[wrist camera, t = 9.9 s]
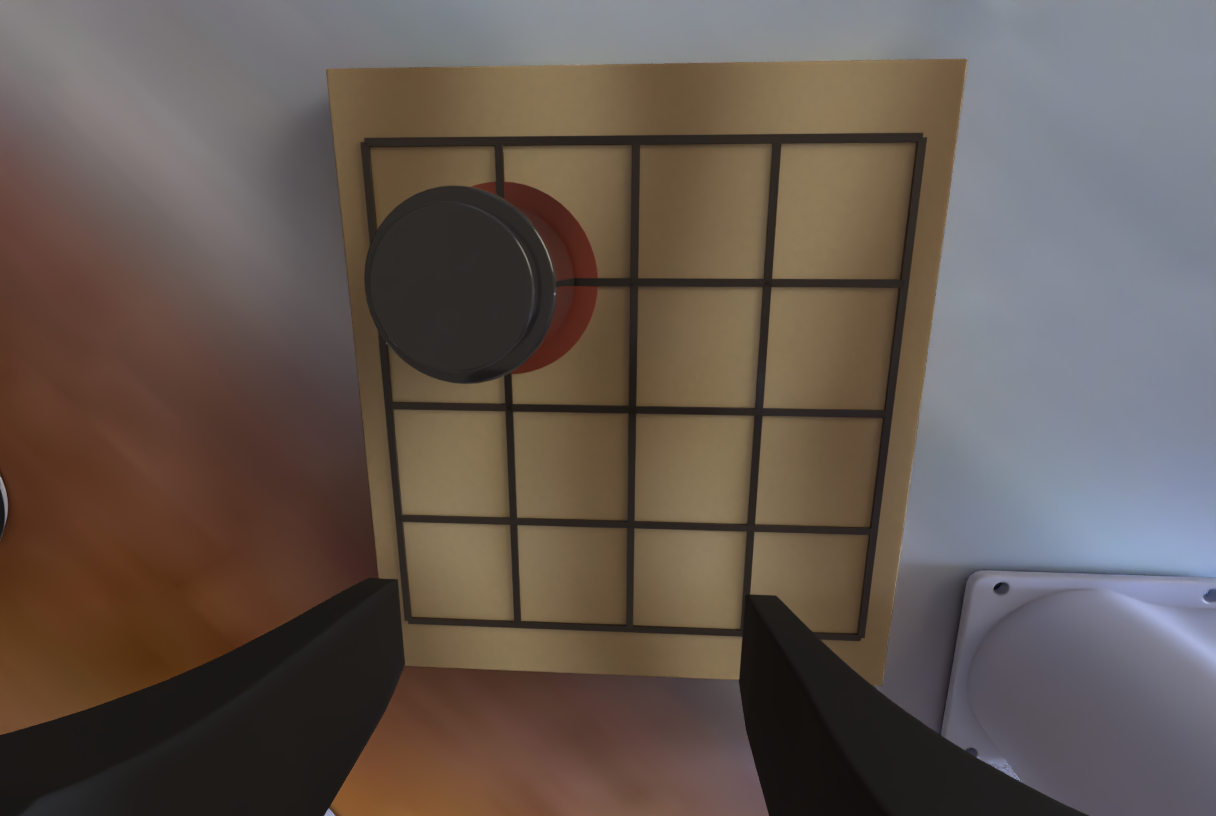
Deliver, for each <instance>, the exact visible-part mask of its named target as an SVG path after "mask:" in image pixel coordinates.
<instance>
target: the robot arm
mask: <svg viewBox="0 0 1216 816" xmlns="http://www.w3.org/2000/svg"><path fill="white" fill-rule="evenodd" d="M999 582H1002V585H1001V587H999V588H998V589H993V588H994V586H995V585H996V584H997V583H999ZM1208 590H1209V591H1208ZM1206 591H1208V593H1207V594H1205V592H1206ZM1204 594H1205V595H1204ZM404 666H405V657H404V645H403V633H402V622H401V610H400V598H399V587H398V579H381V578H369V579H366V580H364V581H362V582H360V583H358V584H356V585H354V586H352V587H350V588H348V589H346V590H344V591H342V592H340V593H339V594H337V595H335V596H333V597H331V598H330V599H328V600H326V601H324V602H323V603H321V604H319V605H317V606H315V607H314V608H312V609H310V610H308V611H306V612H305V613H303V614H301V615H299V616H297V617H296V618H294V619H292V620H290V621H289V622H287V623H285V624H283V625H281V626H279V627H277V628H276V629H274V630H272V631H270V632H268V633H266V634H264V635H262V636H260V637H258V638H256V639H254V640H252V641H250V642H248V643H246V644H244V645H243V646H241V647H239V648H237V649H235V650H233V651H231V652H229V653H227V654H225V655H223V656H220V657H218V658H216V659H214V660H212V661H210V662H207V663H205V664H203V665H201V666H199V667H196V668H194V669H192V670H189V671H187V672H185V673H182V674H180V675H178V676H175V677H173V678H171V679H168V680H166V681H163V682H161V683H158V684H156V685H153V686H150V687H147V688H145V689H142V690H139V691H137V692H134V693H131V694H128V695H126V696H123V697H120V698H117V699H115V700H112V701H109V702H106V703H104V704H101V705H98V706H96V707H93V708H90V709H87V710H84V711H81V712H77V713H74V714H71V715H68V716H65V717H62V718H58V719H55V720H52V721H49V722H45V723H42V724H38V725H35V726H32V727H28V728H25V729H21V730H18V731H14V732H11V733H7V734H3V735H0V816H324V815H325V813H326V812H327V810H328V808H329V807H330V805H331V803H332V802H333V800H334V798H335V796H336V795H337V793H338V791H339V790H340V788H341V786H342V785H343V783H344V781H345V779H346V778H347V776H348V774H349V773H350V771H351V769H352V768H353V766H354V764H355V763H356V761H357V759H358V757H359V756H360V754H361V752H362V751H363V749H364V747H365V746H366V744H367V742H368V740H369V739H370V737H371V735H372V733H373V732H374V730H375V728H376V726H377V725H378V723H379V721H380V719H381V718H382V716H383V714H384V712H385V711H386V708H387V706H388V704H389V702H390V699H391V697H392V695H393V693H394V690H395V688H396V685H397V683H398V680H399V678H400V675H401V673H402V671H403V668H404ZM739 685H740V692H741V699H742V706H743V713H744V719H745V726H746V731H747V735H748V739H749V743H750V747H751V750H752V754H753V758H754V762H755V765H756V769H757V773H758V776H759V780H760V784H761V787H762V791H763V795H764V798H765V802H766V806H767V809H768V813H769V816H1216V578H1209V577H1177V576H1146V575H1114V574H1082V573H1050V572H1018V571H986V570H982V571H977V572H975V573H973V574H972V575H971V576H970V577H969V578H968V580H967V583H966V588H965V594H964V600H963V606H962V612H961V618H960V624H959V630H958V636H957V642H956V648H955V654H954V659H953V665H952V671H951V677H950V683H949V689H948V695H947V701H946V707H945V713H944V719H943V725H942V731H941V735H940V734H938V733H937V732H935V731H934V730H932V729H931V728H929V727H928V726H926V725H925V724H923V723H922V722H920V721H919V720H918V719H916V718H915V717H913V716H912V715H911V714H909V713H908V712H906V711H905V710H904V709H902V708H901V707H899V706H898V705H897V704H895V703H894V702H892V701H891V700H890V699H889V698H887V697H886V696H885V695H883V694H882V693H881V692H880V691H878V690H877V689H876V688H875V687H873V686H872V685H871V684H870V683H869V682H867V681H866V680H865V679H864V678H863V677H861V676H860V675H859V674H858V673H857V672H855V671H854V670H853V669H852V668H851V667H850V666H849V665H847V664H846V663H845V662H844V661H843V660H842V659H841V658H840V657H838V656H837V655H836V654H835V653H834V652H833V651H832V650H831V649H830V648H829V647H828V646H827V645H826V644H825V643H823V642H822V641H821V640H820V639H819V638H818V637H817V636H816V635H815V634H814V633H813V632H812V631H811V630H810V629H809V628H808V627H807V626H806V625H805V624H804V623H803V622H802V621H801V620H800V619H799V618H798V617H797V616H796V615H795V614H794V613H793V612H792V611H791V610H790V609H789V608H788V607H787V606H786V605H785V604H784V603H783V602H782V601H781V600H780V599H779V598H778V597H777V596H776V595H754V594H746V595H745V608H744V621H743V635H742V648H741V661H740V675H739ZM968 748H971V749H969V750H967V751H965V750H966V749H968ZM989 764H991V765H1010V767H1011V768H1012V769H1013V771H1014V772H1015V773H1016V775H1017V776H1018V778H1019V779H1020V780H1021V782H1020V781H1018V780H1016V779H1014V778H1012V777H1010V776H1009V775H1007V774H1005V773H1003V772H1001V771H1000V770H998V769H996V768H994V767H992V766H991V765H989Z"/></svg>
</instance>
